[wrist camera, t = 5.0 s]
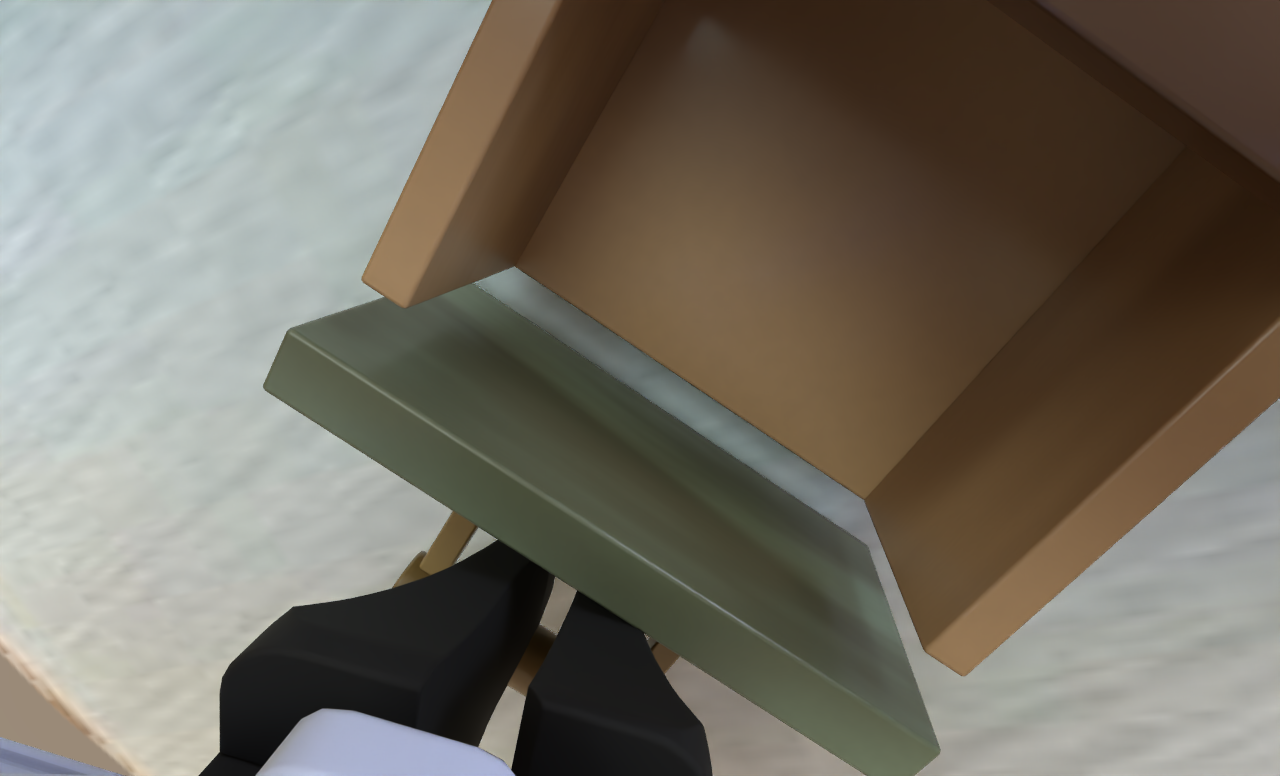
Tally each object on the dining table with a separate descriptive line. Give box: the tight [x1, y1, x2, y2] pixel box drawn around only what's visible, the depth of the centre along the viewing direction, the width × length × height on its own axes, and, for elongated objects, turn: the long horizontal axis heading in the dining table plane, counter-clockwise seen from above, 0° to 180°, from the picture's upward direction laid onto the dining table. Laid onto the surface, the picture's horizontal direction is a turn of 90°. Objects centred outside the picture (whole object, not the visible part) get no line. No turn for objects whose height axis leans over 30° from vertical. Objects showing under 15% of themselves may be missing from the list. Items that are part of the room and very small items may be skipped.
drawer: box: [263, 0, 1280, 776], centre depth 12 cm, size 17×12×6 cm
